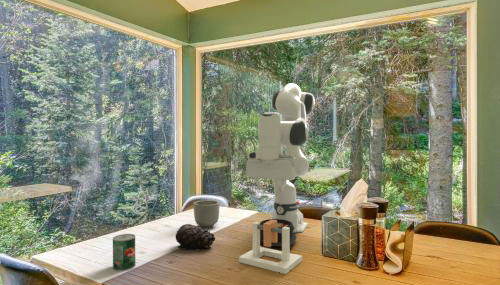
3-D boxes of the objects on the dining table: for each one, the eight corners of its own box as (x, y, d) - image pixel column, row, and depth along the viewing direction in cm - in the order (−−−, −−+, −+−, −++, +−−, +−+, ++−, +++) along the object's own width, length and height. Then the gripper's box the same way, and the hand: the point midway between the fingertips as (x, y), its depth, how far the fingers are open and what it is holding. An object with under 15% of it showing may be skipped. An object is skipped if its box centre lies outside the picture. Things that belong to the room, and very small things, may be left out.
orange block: (271, 240, 124) (271, 219, 124) (277, 241, 123) (277, 220, 122) (263, 245, 118) (263, 223, 118) (269, 247, 117) (269, 224, 117)
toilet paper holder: (239, 262, 120) (238, 225, 120) (258, 250, 132) (257, 217, 132) (286, 274, 109) (285, 234, 109) (302, 260, 121) (302, 224, 121)
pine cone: (213, 251, 131) (213, 228, 131) (172, 250, 133) (172, 227, 133) (218, 243, 141) (218, 221, 141) (180, 242, 143) (180, 220, 143)
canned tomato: (134, 269, 114) (134, 239, 114) (111, 272, 112) (111, 241, 112) (136, 261, 122) (136, 233, 121) (114, 263, 119) (114, 234, 119)
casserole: (252, 233, 156) (252, 216, 156) (289, 232, 158) (289, 215, 158) (260, 251, 131) (260, 231, 131) (303, 249, 134) (303, 229, 133)
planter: (224, 225, 170) (224, 201, 170) (208, 232, 159) (208, 206, 158) (205, 221, 178) (205, 199, 177) (188, 228, 166) (187, 203, 166)
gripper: (298, 154, 117) (298, 191, 117) (252, 153, 128) (252, 186, 128) (291, 155, 112) (291, 194, 112) (243, 154, 123) (244, 189, 123)
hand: (270, 190), depth 120 cm, fingers open, 8 cm apart
